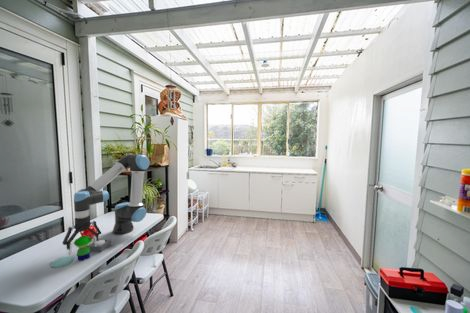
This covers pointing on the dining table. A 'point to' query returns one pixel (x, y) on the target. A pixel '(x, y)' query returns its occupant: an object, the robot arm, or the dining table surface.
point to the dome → (100, 242)
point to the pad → (62, 261)
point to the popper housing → (100, 247)
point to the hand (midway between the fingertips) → (83, 249)
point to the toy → (83, 247)
